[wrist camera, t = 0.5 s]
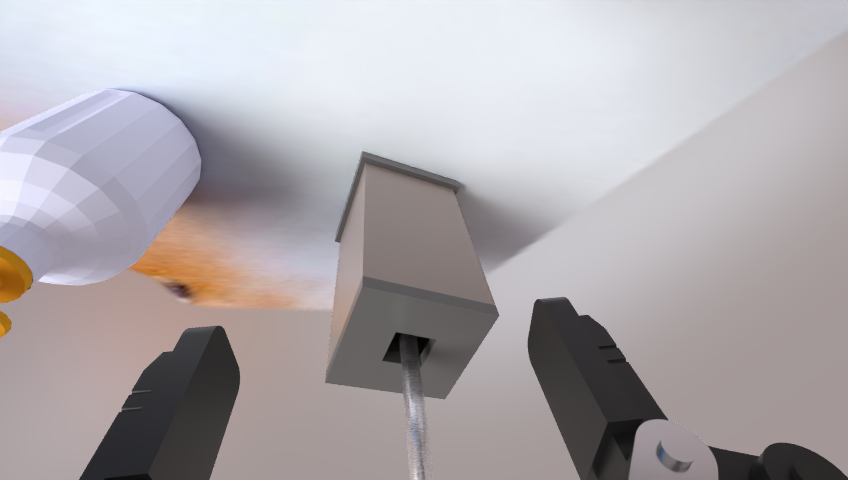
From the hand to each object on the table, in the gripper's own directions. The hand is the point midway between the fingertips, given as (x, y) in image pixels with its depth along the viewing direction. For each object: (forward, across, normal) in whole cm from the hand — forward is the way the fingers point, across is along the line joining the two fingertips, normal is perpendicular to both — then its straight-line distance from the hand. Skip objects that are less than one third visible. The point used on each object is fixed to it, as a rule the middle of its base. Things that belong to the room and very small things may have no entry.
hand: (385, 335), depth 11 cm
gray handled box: (+24, -1, +10) cm, 26 cm away
